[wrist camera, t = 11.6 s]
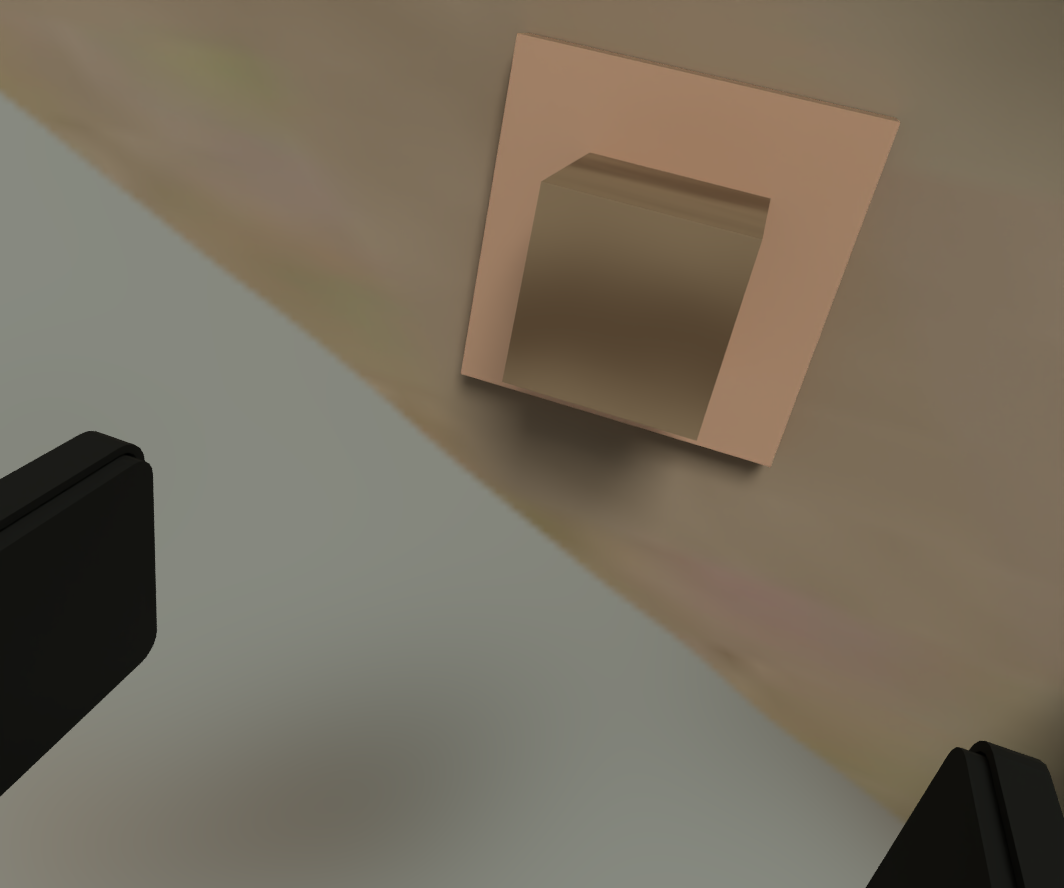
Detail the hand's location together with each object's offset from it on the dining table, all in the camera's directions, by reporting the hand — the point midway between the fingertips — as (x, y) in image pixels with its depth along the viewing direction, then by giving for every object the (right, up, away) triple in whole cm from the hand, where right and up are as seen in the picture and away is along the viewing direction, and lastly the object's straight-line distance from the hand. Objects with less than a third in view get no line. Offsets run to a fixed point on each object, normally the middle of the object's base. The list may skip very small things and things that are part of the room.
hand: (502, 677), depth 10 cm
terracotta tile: (+4, +9, +18) cm, 21 cm away
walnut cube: (+4, +8, +17) cm, 19 cm away
